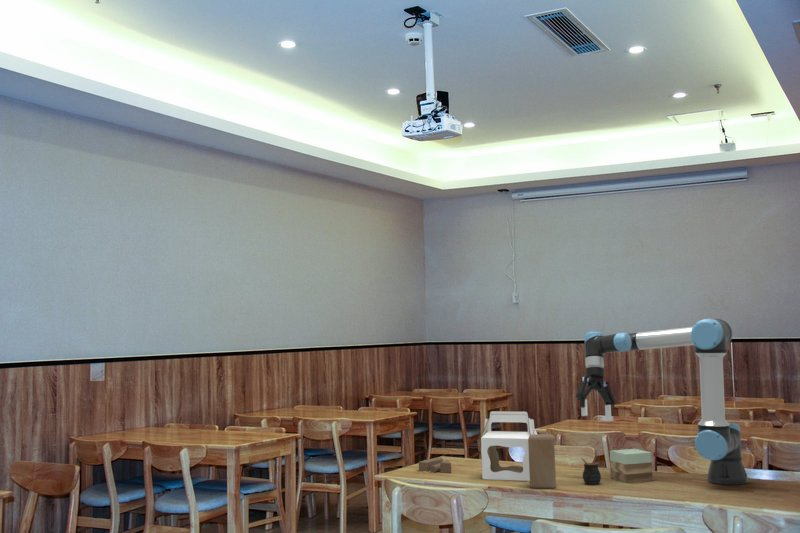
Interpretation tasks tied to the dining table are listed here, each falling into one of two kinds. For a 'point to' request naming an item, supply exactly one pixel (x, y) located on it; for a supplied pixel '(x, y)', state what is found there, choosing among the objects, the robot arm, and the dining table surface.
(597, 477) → the mate gourd
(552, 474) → the block
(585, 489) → the dining table surface
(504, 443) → the gable box
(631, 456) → the slab top
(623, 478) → the slab bottom
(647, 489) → the dining table surface
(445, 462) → the wooden block set
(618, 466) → the slab middle
